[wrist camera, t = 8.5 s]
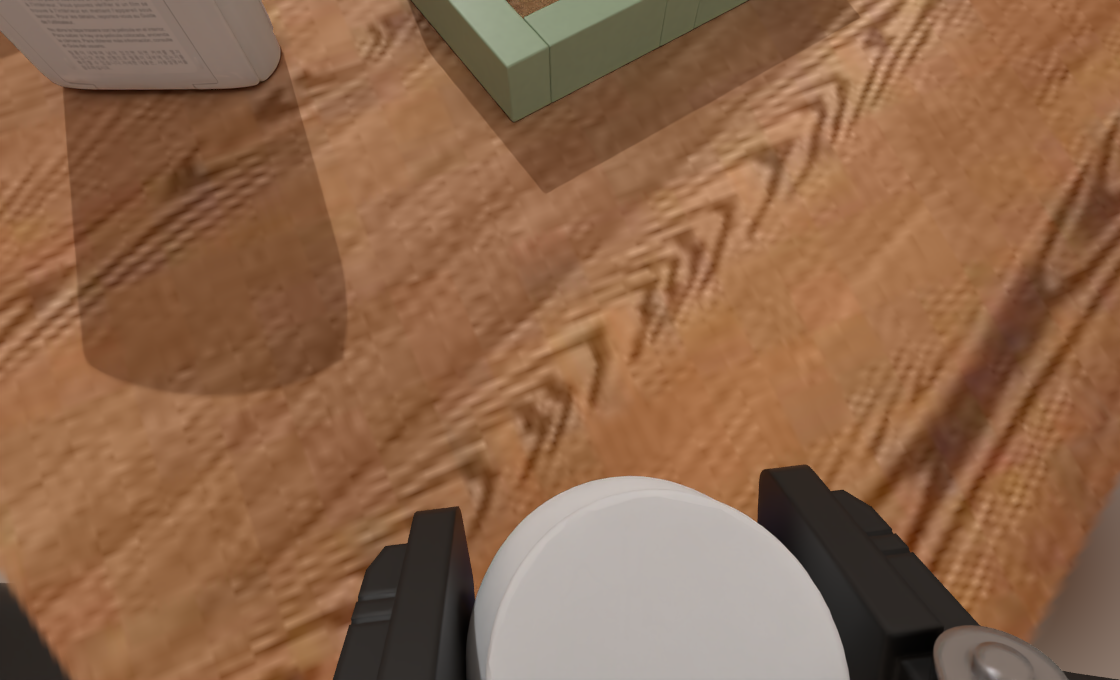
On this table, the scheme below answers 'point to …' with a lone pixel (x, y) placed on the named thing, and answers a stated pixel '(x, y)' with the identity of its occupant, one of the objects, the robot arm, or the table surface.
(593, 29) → the socket base
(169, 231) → the table surface
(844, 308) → the table surface
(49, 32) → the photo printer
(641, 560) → the pill bottle
